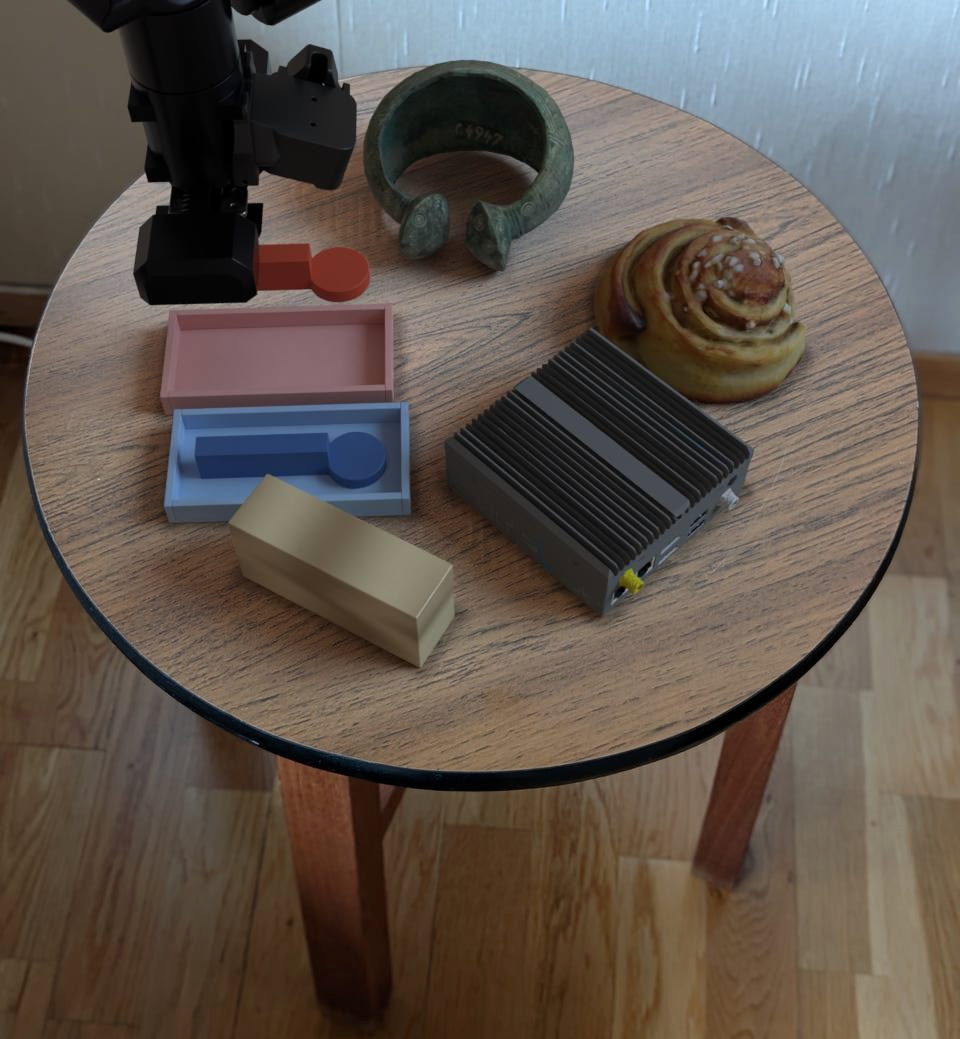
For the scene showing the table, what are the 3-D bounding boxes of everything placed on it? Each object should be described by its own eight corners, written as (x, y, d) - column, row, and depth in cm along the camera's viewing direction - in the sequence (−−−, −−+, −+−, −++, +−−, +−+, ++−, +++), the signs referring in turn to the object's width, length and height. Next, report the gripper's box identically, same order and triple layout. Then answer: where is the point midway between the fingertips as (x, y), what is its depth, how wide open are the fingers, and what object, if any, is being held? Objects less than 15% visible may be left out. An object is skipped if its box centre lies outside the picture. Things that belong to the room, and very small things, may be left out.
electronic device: (614, 631, 79) (622, 588, 75) (438, 480, 85) (436, 432, 81) (755, 503, 84) (769, 456, 80) (579, 368, 90) (584, 318, 85)
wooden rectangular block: (455, 616, 79) (453, 564, 74) (420, 668, 78) (416, 619, 72) (279, 528, 83) (266, 472, 78) (242, 576, 81) (226, 522, 76)
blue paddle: (386, 439, 86) (384, 415, 84) (386, 488, 84) (384, 464, 82) (204, 445, 86) (197, 421, 84) (199, 494, 84) (192, 471, 82)
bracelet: (349, 275, 94) (337, 166, 86) (381, 131, 103) (373, 19, 94) (561, 292, 93) (570, 184, 85) (577, 146, 102) (585, 34, 93)
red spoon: (370, 256, 84) (367, 227, 82) (370, 302, 82) (367, 273, 79) (183, 262, 83) (175, 233, 81) (177, 307, 81) (170, 279, 79)
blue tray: (169, 523, 83) (163, 506, 81) (179, 426, 87) (173, 409, 85) (410, 515, 83) (409, 498, 82) (409, 419, 87) (408, 401, 86)
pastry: (762, 430, 87) (786, 350, 80) (557, 345, 91) (563, 262, 84) (835, 297, 93) (862, 212, 87) (640, 222, 97) (652, 136, 90)
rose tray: (165, 415, 88) (159, 397, 86) (175, 328, 92) (169, 309, 90) (394, 407, 88) (392, 389, 86) (393, 321, 92) (391, 303, 90)
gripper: (337, 181, 64) (361, 387, 77) (344, -55, 74) (364, 163, 87) (102, 187, 63) (166, 393, 76) (141, -51, 74) (192, 167, 87)
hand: (230, 271), depth 82 cm, fingers closed on red spoon, 1 cm apart
